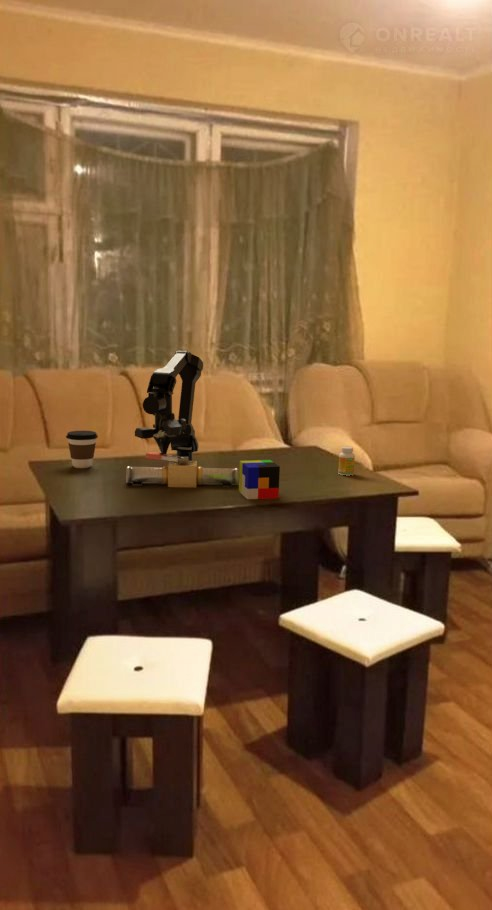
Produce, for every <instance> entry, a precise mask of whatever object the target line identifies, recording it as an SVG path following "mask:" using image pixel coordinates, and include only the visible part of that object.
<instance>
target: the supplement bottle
mask: <svg viewBox="0 0 492 910" xmlns="http://www.w3.org/2000/svg"><path fill="white" fill-rule="evenodd" d="M355 456H356V455H355V454H354V447H352V446H341V452H340V454H339V455H338V470H337V471H338V472H337V473H338V475H339V474H340V476H343V475H346V477H350V475H352V476H354V474H355V459H356V457H355Z"/></svg>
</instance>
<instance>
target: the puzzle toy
mask: <svg viewBox="0 0 492 910" xmlns="http://www.w3.org/2000/svg"><path fill="white" fill-rule="evenodd" d="M280 474H281V466H280V465H278V464H276V462H274V461H272V460H271V459H257V460H255V459H254V460H239V468H238V492H239V493H240V494H241V495H242V496H243V497H244V498H245V499H247V500H263V499H265V500H266V499H267V500H268V499H279V497H280V496H279V495H280V494H279V493H280Z"/></svg>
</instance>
